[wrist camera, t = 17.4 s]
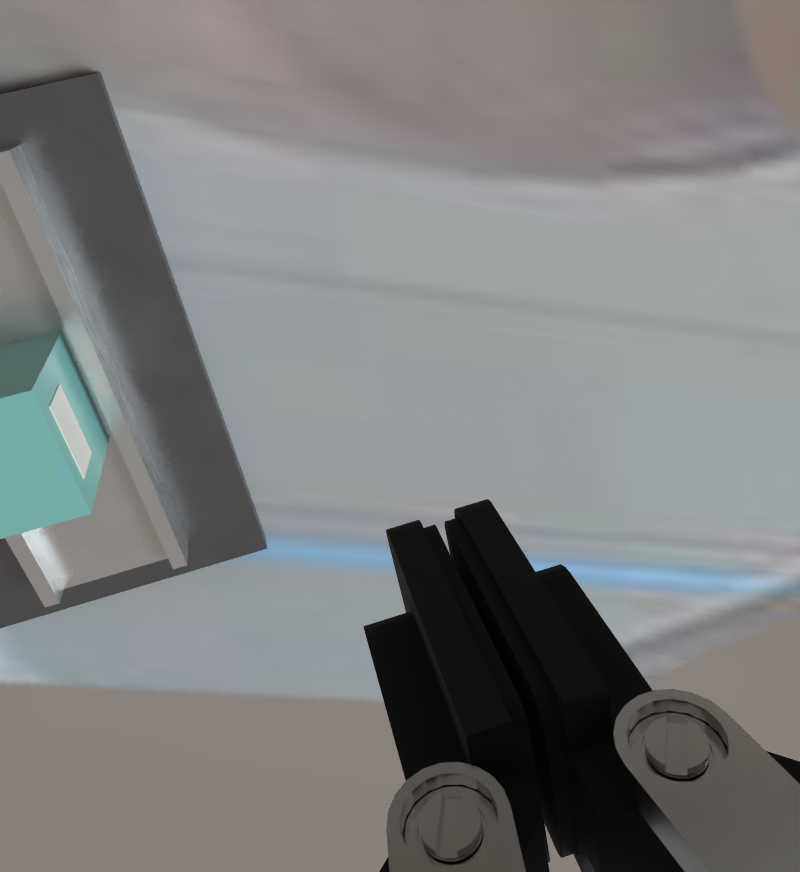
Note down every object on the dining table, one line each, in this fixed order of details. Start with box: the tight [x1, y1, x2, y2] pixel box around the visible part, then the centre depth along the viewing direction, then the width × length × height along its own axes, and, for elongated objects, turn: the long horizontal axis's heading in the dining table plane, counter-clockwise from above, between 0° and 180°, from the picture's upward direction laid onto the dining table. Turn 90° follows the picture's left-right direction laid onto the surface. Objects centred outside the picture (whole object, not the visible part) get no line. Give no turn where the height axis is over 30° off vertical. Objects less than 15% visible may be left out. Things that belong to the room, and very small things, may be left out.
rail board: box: [0, 72, 267, 628], centre depth 36 cm, size 26×16×3 cm, turn 11°
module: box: [0, 332, 109, 539], centre depth 33 cm, size 6×5×7 cm
